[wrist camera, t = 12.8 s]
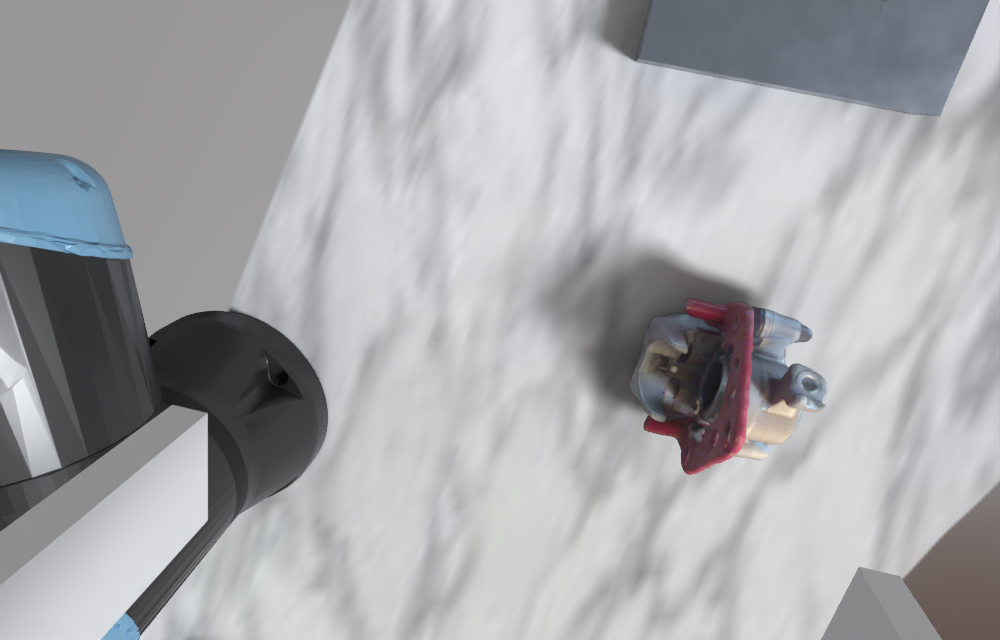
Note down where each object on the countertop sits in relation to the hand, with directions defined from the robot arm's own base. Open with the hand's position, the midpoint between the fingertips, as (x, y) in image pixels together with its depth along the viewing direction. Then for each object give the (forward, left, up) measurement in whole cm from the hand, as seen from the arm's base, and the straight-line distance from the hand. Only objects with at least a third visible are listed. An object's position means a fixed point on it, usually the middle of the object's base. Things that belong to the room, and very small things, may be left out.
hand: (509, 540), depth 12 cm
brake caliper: (+12, -6, -29) cm, 32 cm away
